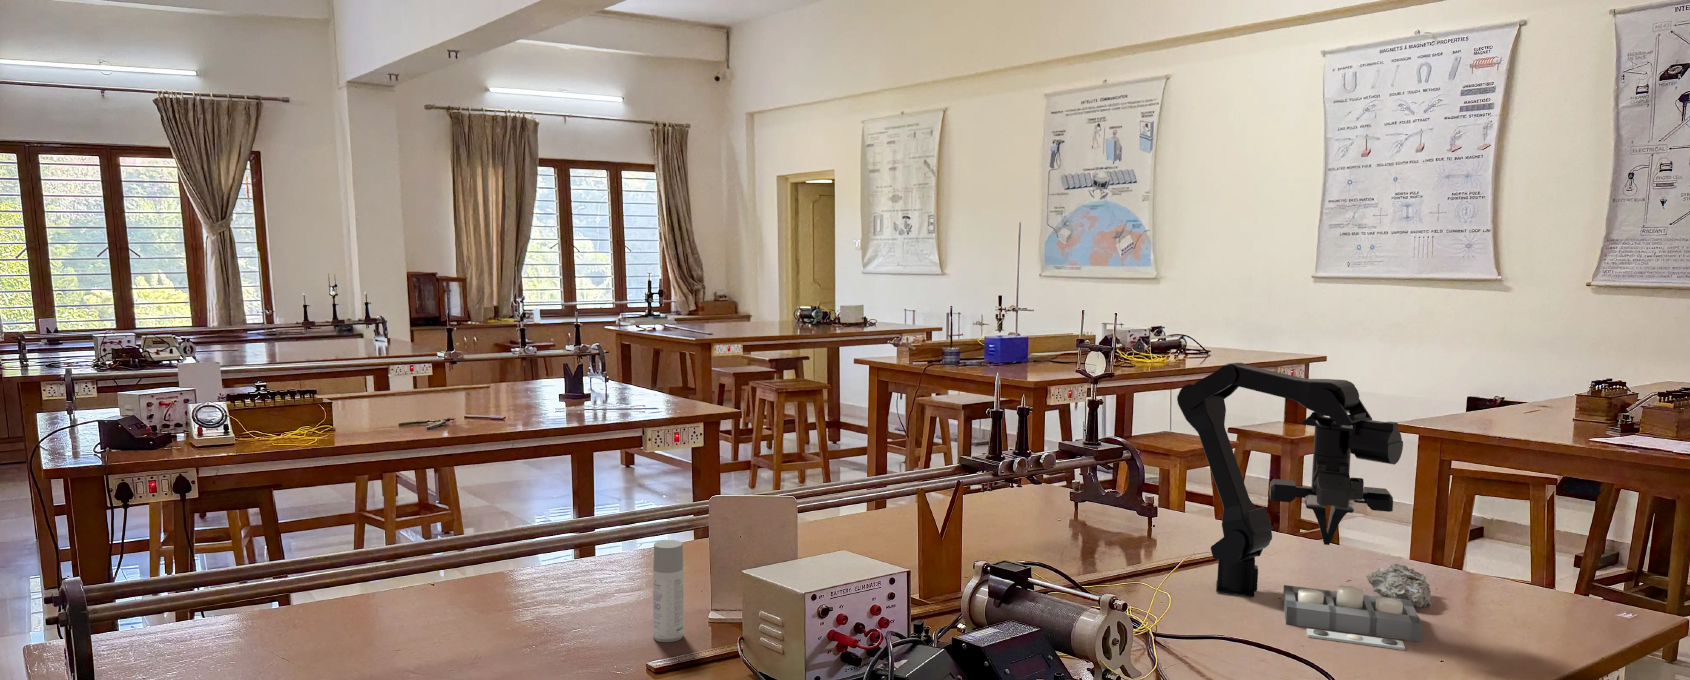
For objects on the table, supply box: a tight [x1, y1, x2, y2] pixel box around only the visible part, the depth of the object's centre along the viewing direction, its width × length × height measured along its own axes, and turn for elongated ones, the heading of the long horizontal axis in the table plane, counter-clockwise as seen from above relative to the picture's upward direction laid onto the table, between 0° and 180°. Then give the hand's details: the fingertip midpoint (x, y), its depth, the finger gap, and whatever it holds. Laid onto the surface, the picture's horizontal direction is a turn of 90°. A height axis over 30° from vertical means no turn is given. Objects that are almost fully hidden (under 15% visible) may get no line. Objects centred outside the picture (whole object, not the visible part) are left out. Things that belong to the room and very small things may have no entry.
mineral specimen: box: [1366, 563, 1432, 608], centre depth 186 cm, size 6×11×12 cm
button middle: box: [1336, 585, 1364, 609], centre depth 175 cm, size 4×4×4 cm
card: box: [1306, 628, 1406, 651], centre depth 166 cm, size 14×3×1 cm, turn 70°
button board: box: [1282, 584, 1423, 643], centre depth 175 cm, size 20×12×3 cm, turn 70°
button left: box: [1298, 588, 1324, 605], centre depth 177 cm, size 4×4×4 cm
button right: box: [1375, 598, 1403, 614], centre depth 173 cm, size 4×4×4 cm
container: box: [652, 539, 684, 643], centre depth 162 cm, size 5×5×15 cm
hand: (1326, 544), depth 176 cm, fingers closed
